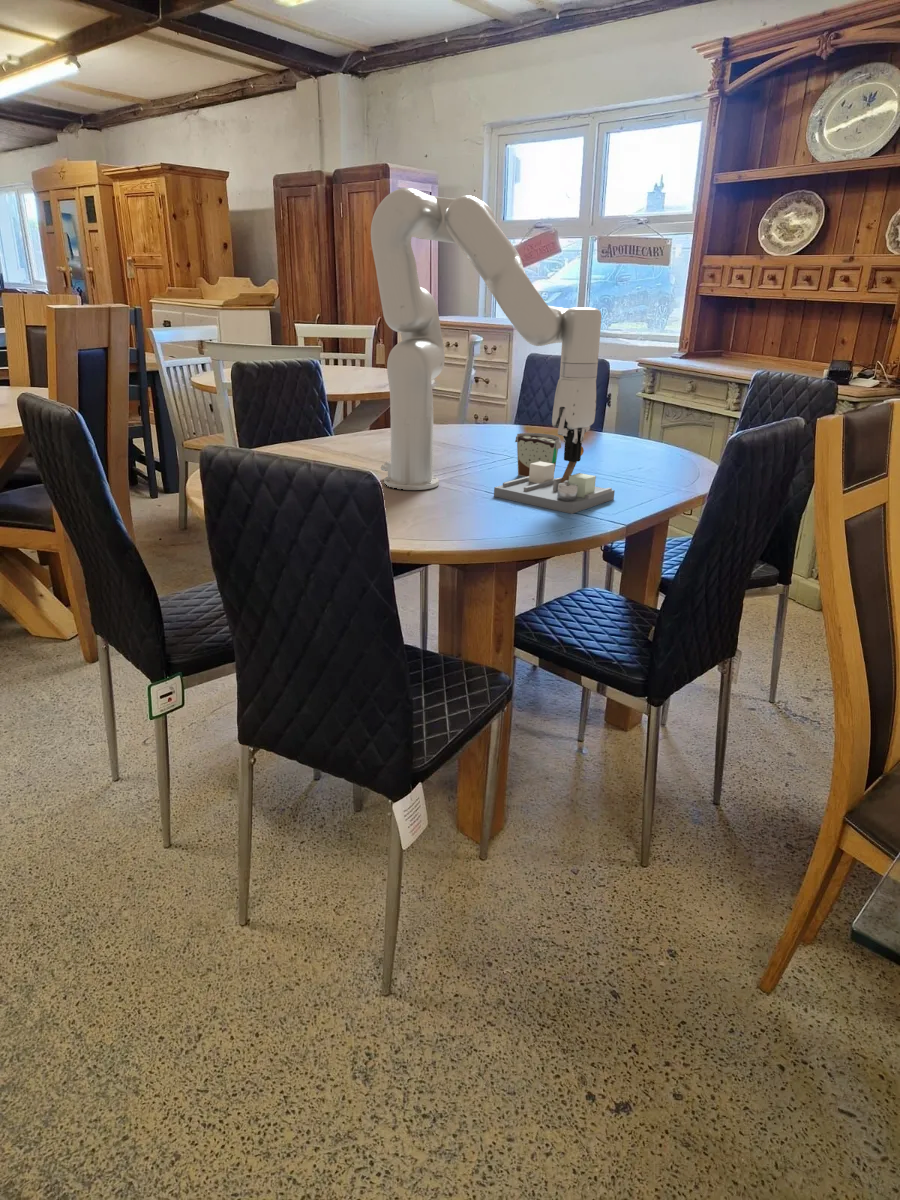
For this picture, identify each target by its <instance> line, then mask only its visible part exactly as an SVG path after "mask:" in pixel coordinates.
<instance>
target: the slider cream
mask: <svg viewBox="0 0 900 1200" xmlns="http://www.w3.org/2000/svg"><path fill="white" fill-rule="evenodd" d="M554 469H555V470H556V465H555V464H552V463H547V462H541V461H539V462H535V463H531V464H530V471H529V482H534V483H541V482H545V481H548V480H552V479H555V471H554Z"/></svg>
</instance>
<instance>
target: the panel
mask: <svg viewBox="0 0 900 1200" xmlns="http://www.w3.org/2000/svg"><path fill="white" fill-rule="evenodd" d="M561 479H562V477H557V478H556V477H554V479H552V480H548V481H545V482H541V483H534V482H529V476H527V477H520V478H517V479H514V480H513V479H512V480H508V481H505V482H502V485H498V486H495V487H494V489H493V497H496V498H500V499H505V500H509V501H513V502H518V503H523V504H526V505H531V506H535V507H540V508H544V509H548V510H553V511H558V512H561V513H568V514H570V515H572V514H576V513H578V512H582V511H584V510H586V509H590V508H593V507H595V506H598V505H602V504H605V503H606V502H611V501H613V500H614V499H615V492H616V491H615V490H614V489H613V488H612V487H606V488H604V487H598V486H595V491H594V492H593V493H590V494H587V495H585V498H582V497H577V500H576V501H572V502H567V501H560V500H558V499H557V495H558V484H559V483H560V482H561ZM564 483H569V480H566V481H564Z"/></svg>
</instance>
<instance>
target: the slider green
mask: <svg viewBox="0 0 900 1200" xmlns="http://www.w3.org/2000/svg"><path fill="white" fill-rule="evenodd" d="M596 478H597V475H592V474H586V473H581V472H578V473H574V474H571V476H569V483H574V484H577V485H578V491H577V497H582V498H585V495H587V494H590V493H593V492H594V491H595V487H596Z"/></svg>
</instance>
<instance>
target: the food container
mask: <svg viewBox="0 0 900 1200" xmlns="http://www.w3.org/2000/svg"><path fill="white" fill-rule="evenodd" d="M561 441H562V440H561V437H559V435H558V436H557V435H555V434H548V433H539V432H524V433H523V432H522V433H517V434H516V436H515V441H514V443H516V444H517V445H516V446H517V448H516V450H517V451H516V452H517V476H519V477H522V478H524V477H527V476H529V471H530V464H531V463H535V462H539V461H541V462H547V463H552V464H555V466H556V465H557V459H558V458H557V457H558V453H559V450H560V449H562V442H561ZM555 470H556V468H555V469H554V472H555Z"/></svg>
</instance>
